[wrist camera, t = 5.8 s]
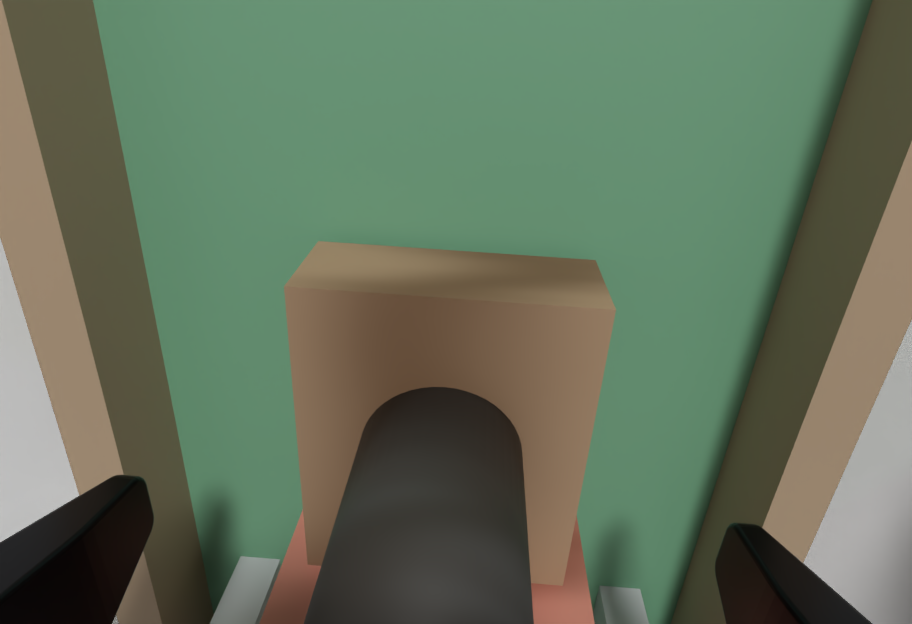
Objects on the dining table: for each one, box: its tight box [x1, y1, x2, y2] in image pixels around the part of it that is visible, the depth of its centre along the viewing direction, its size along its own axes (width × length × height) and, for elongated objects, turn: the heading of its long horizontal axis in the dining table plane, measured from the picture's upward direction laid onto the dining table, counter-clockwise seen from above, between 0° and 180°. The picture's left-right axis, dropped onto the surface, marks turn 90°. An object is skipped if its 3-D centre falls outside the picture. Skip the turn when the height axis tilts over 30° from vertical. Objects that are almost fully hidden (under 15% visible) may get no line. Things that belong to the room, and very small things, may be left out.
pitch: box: [0, 0, 912, 624], centre depth 10 cm, size 14×27×5 cm, turn 177°
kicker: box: [259, 241, 616, 624], centre depth 9 cm, size 6×8×7 cm
